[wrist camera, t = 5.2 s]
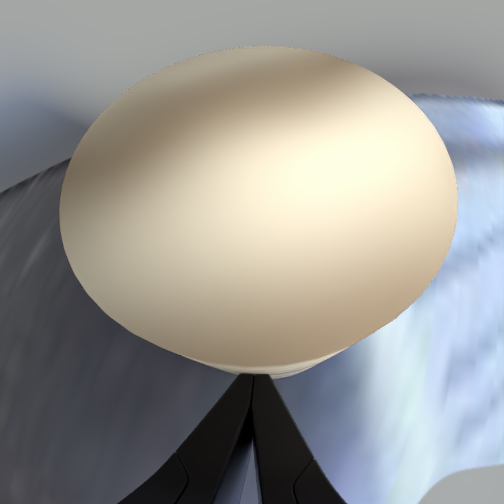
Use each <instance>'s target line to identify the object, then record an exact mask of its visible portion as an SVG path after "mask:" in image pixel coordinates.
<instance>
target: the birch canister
mask: <svg viewBox="0 0 504 504" xmlns="http://www.w3.org/2000/svg"><path fill="white" fill-rule="evenodd" d="M457 212H458V193H457V182H456V178H455V174H454V169H453V165H452V162H451V159H450V157H449V154H448V152H447V150H446V147H445V145H444V143H443V141H442V139H441V138H440V136H439V134H438V133H437V131H436V129H435V128H434V126H433V125H432V124H431V122H430V121H429V120H428V118H427V117H426V116H425V114H424V113H423V112H422V111H421V110H420V109H419V108H418V107H417V106H416V105H415V104H414V103H413V102H412V101H411V100H410V99H409V98H408V97H407V96H406V95H405V94H403V93H402V92H401V91H400V90H399V89H397V88H396V87H395V86H393V85H392V84H390V83H389V82H387V81H385V80H384V79H383V78H381V77H379V76H378V75H376V74H374V73H372V72H371V71H369V70H366V69H365V68H363V67H360V66H358V65H356V64H354V63H351V62H349V61H346V60H343V59H340V58H337V57H334V56H331V55H328V54H324V53H320V52H316V51H311V50H305V49H298V48H291V47H278V46H252V47H239V48H232V49H225V50H219V51H215V52H211V53H206V54H202V55H199V56H196V57H192V58H190V59H186V60H183V61H181V62H178V63H176V64H174V65H171V66H169V67H167V68H164V69H162V70H160V71H158V72H157V73H154V74H152V75H151V76H149V77H147V78H146V79H144V80H142V81H141V82H139V83H137V84H136V85H134V86H133V87H132V88H130V89H129V90H128V91H126V92H125V93H124V94H122V95H121V96H120V97H119V98H118V99H116V100H115V101H114V102H113V103H112V104H111V105H110V106H109V107H107V108H106V110H105V111H104V112H103V113H102V114H101V115H100V116H99V117H98V118H97V120H96V121H95V122H94V123H93V124H92V126H91V127H90V128H89V130H88V131H87V132H86V134H85V135H84V136H83V138H82V140H81V142H80V144H79V145H78V147H77V149H76V150H75V152H74V154H73V156H72V159H71V161H70V164H69V166H68V168H67V171H66V175H65V178H64V182H63V186H62V191H61V198H60V207H59V213H60V231H61V236H62V241H63V245H64V250H65V252H66V255H67V258H68V260H69V263H70V265H71V267H72V270H73V272H74V274H75V275H76V277H77V279H78V280H79V282H80V283H81V285H82V286H83V288H84V289H85V291H86V292H87V294H88V295H89V296H90V297H91V298H92V299H93V300H94V301H95V303H96V304H97V305H98V306H99V307H100V308H101V309H102V310H103V311H104V312H105V313H106V314H107V315H108V316H110V317H111V318H112V319H114V320H115V321H116V322H118V323H119V324H120V325H122V326H123V327H125V328H126V329H127V330H129V331H130V332H131V333H133V334H135V335H137V336H139V337H141V338H143V339H145V340H147V341H149V342H151V343H153V344H155V345H157V346H160V347H162V348H164V349H166V350H169V351H171V352H174V353H176V354H179V355H181V356H184V357H187V358H189V359H192V360H195V361H197V362H200V363H203V364H206V365H208V366H211V367H214V368H217V369H220V370H223V371H226V372H229V373H232V374H235V375H239V374H241V373H250V374H254V376H255V374H269V375H270V376H271V378H272V379H279V378H284V377H289V376H292V375H295V374H298V373H301V372H303V371H305V370H307V369H309V368H311V367H313V366H315V365H317V364H319V363H321V362H323V361H324V360H326V359H328V358H330V357H332V356H334V355H336V354H337V353H339V352H341V351H343V350H345V349H346V348H348V347H350V346H352V345H353V344H355V343H357V342H359V341H360V340H362V339H364V338H365V337H367V336H369V335H370V334H372V333H374V332H375V331H377V330H378V329H380V328H382V327H383V326H385V325H386V324H388V323H390V322H391V321H393V320H394V319H396V318H397V317H398V316H399V315H400V314H401V313H402V312H404V311H405V310H406V309H407V308H408V307H409V306H410V305H411V304H412V303H413V302H415V301H416V300H417V299H418V298H419V297H420V296H421V294H422V293H423V292H424V291H425V289H426V288H427V287H428V285H429V284H430V283H431V281H432V280H433V279H434V277H435V276H436V275H437V273H438V271H439V269H440V267H441V265H442V264H443V262H444V259H445V257H446V255H447V253H448V251H449V249H450V246H451V242H452V239H453V235H454V232H455V228H456V222H457Z"/></svg>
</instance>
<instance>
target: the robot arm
mask: <svg viewBox="0 0 504 504" xmlns="http://www.w3.org/2000/svg"><path fill="white" fill-rule="evenodd" d="M252 443H253V448H254V460H255V470H256V481H257V491H258V501H259V504H347V503H346V502H345V501H344V499H343V498H342V497H341V496H340V495H339V493H338V492H337V491H336V489H335V488H334V487H333V485H332V484H331V483H330V481H329V480H328V478H327V476H326V475H325V473H324V472H323V470H322V469H321V467H320V465H319V463H318V462H317V460H316V459H315V457H314V455H313V453H312V451H311V450H310V448H309V446H308V444H307V443H306V441H305V439H304V437H303V435H302V434H301V432H300V430H299V428H298V426H297V425H296V423H295V421H294V419H293V417H292V416H291V414H290V412H289V410H288V408H287V406H286V404H285V403H284V401H283V399H282V397H281V395H280V393H279V391H278V389H277V388H276V386H275V384H274V382H273V380H272V378H271V376H270V375H269V374H255V376H254V374H250V373H241V374H239V375H238V376H237V378H236V379H235V380H234V381H233V383H232V384H231V385H230V386H229V388H228V389H227V390H226V391H225V393H224V394H223V395H222V396H221V398H220V399H219V400H218V401H217V403H216V404H215V405H214V406H213V408H212V409H211V410H210V411H209V412H208V414H207V415H206V416H205V417H204V419H203V420H202V421H201V422H200V423H199V424H198V426H197V427H196V428H195V429H194V430H193V432H192V433H191V434H190V435H189V436H188V437H187V439H186V440H185V441H184V442H183V443H182V444H181V446H180V447H179V448H178V449H177V450H176V453H173V454H172V456H171V457H170V458H169V459H168V460H167V461H166V462H165V463H164V464H163V465H162V466H161V467H160V468H159V470H158V471H157V472H156V473H155V474H153V475H152V476H151V477H150V478H149V479H148V480H147V481H145V482H144V483H143V484H142V485H141V486H139V487H138V488H137V489H136V490H134V491H133V492H132V493H131V494H129V495H128V496H127V497H125V498H124V499H123V500H121V501H120V502H119V503H117V504H240V500H241V495H242V491H243V486H244V482H245V477H246V473H247V468H248V463H249V459H250V454H251V449H252Z"/></svg>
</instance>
